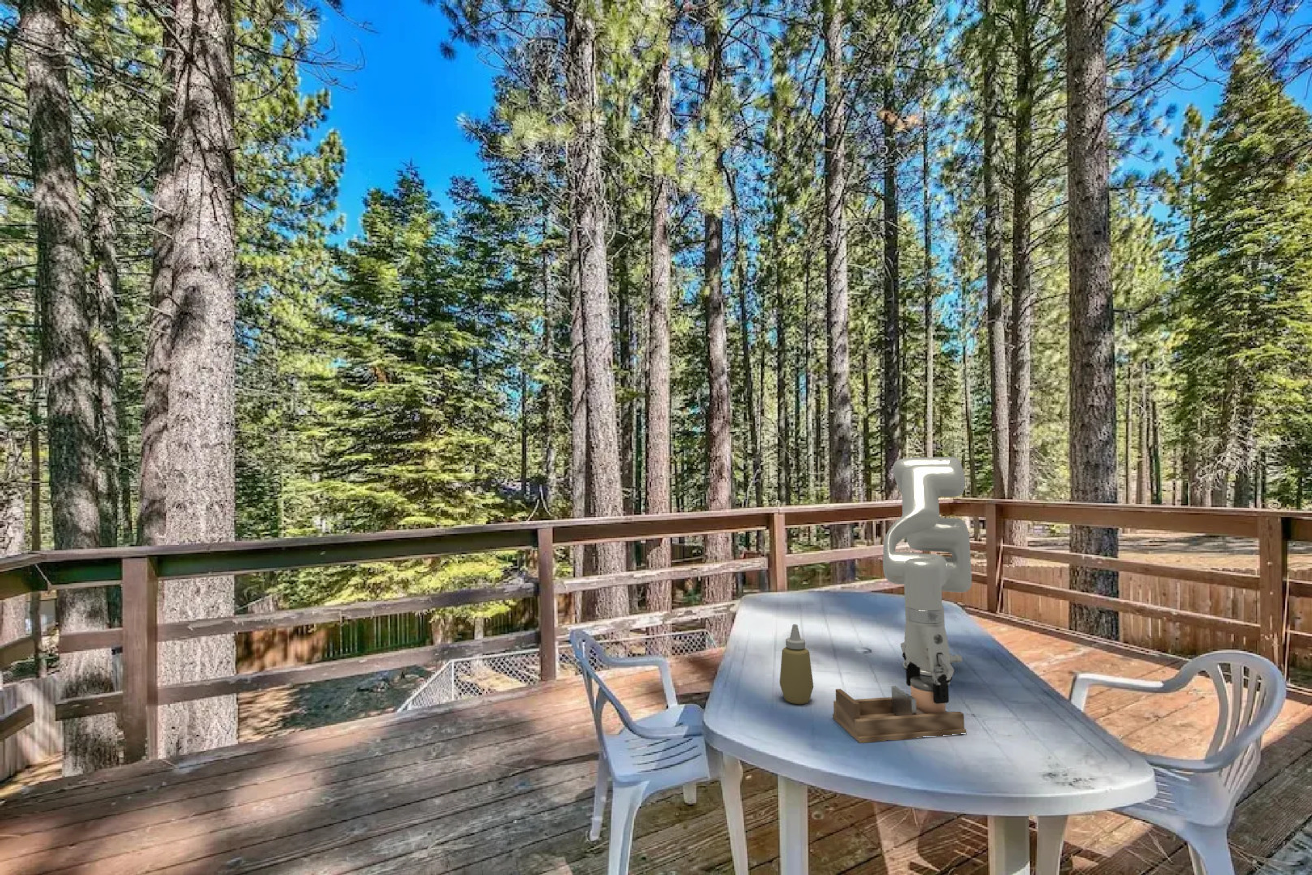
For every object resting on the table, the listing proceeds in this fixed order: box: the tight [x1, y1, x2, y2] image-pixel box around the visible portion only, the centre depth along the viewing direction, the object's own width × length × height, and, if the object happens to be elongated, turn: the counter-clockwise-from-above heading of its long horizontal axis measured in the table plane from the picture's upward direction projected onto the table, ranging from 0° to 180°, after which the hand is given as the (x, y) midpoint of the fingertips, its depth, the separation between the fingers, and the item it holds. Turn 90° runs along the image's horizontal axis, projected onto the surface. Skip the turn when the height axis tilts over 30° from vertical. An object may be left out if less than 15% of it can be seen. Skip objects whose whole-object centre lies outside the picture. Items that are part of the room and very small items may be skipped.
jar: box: [910, 675, 947, 714], centre depth 123 cm, size 7×7×8 cm
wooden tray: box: [832, 688, 967, 744], centre depth 121 cm, size 24×12×7 cm, turn 98°
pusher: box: [891, 685, 925, 716], centre depth 122 cm, size 3×8×6 cm, turn 8°
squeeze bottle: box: [779, 623, 814, 705], centre depth 136 cm, size 8×8×18 cm
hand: (926, 693), depth 123 cm, fingers open, 9 cm apart
